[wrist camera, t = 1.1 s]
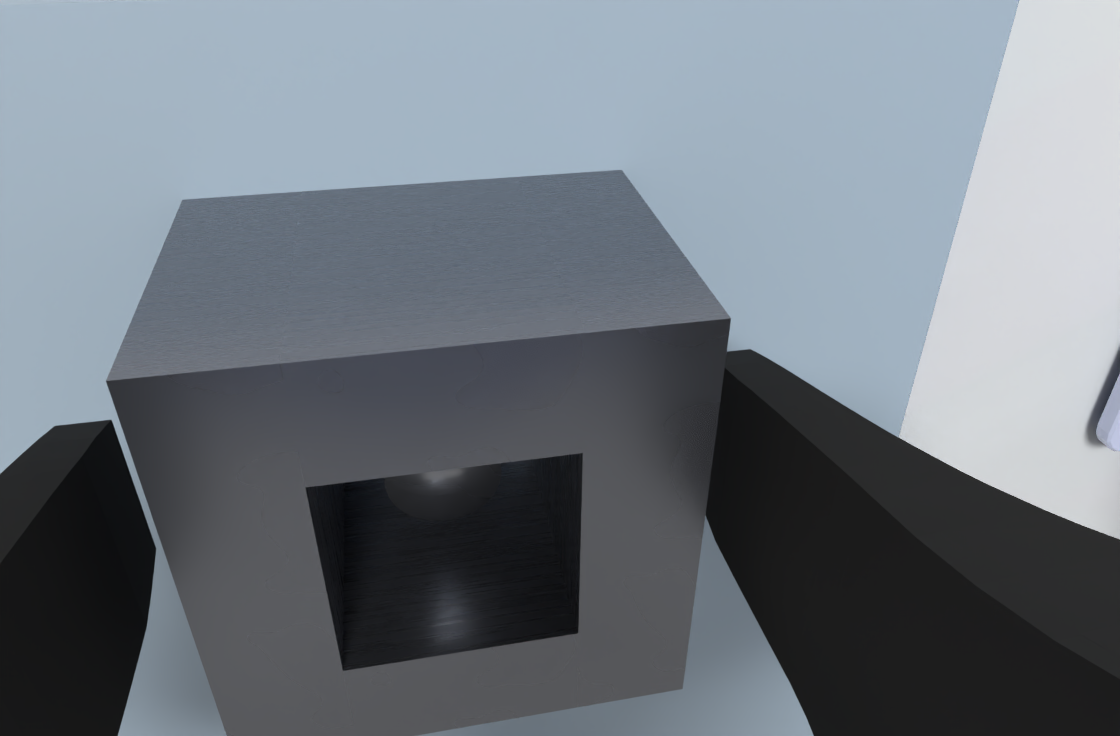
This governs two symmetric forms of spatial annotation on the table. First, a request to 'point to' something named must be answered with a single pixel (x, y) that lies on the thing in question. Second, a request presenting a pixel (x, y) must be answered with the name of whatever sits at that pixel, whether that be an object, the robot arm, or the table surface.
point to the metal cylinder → (444, 491)
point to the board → (500, 152)
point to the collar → (426, 448)
